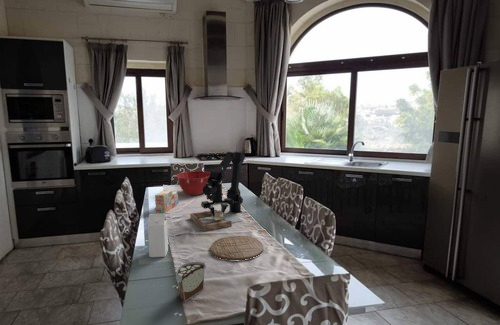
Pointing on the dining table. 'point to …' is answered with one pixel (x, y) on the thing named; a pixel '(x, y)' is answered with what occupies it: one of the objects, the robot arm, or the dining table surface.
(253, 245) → the trivet
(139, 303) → the dining table surface
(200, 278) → the cake slice
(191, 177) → the mixing bowl
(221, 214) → the birch block
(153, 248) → the milk carton
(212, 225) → the walnut u-shaped frame
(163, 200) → the colourful printed box
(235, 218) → the grey mat
